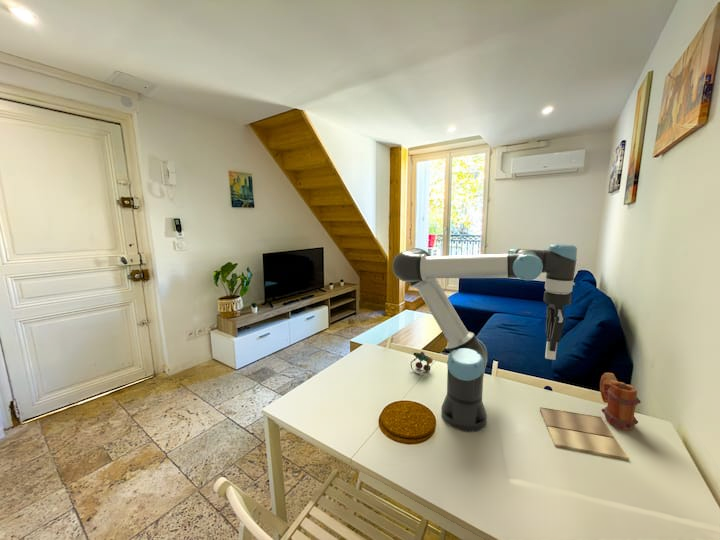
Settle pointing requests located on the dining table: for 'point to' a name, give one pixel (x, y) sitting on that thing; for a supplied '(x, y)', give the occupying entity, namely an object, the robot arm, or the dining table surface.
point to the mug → (618, 402)
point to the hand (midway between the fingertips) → (550, 358)
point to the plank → (575, 422)
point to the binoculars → (421, 358)
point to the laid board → (587, 443)
